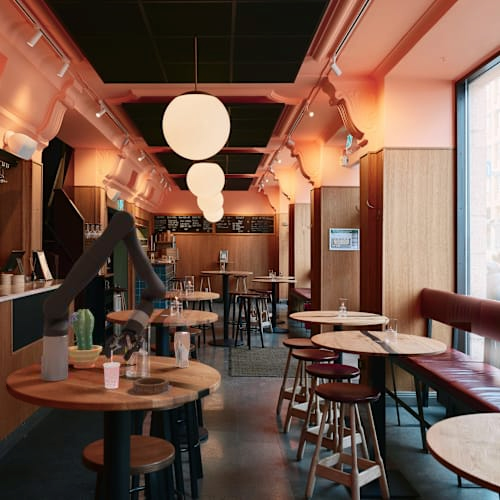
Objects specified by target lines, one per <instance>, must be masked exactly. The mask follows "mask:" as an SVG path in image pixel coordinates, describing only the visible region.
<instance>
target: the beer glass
mask: <svg viewBox="0 0 500 500" xmlns="http://www.w3.org/2000/svg"><path fill="white" fill-rule="evenodd" d="M190 333H191V332H189V331H176V332H174V338H173V339H174V342H173V344H174V345H173V346H174V352H175V364H174V367H175V368H176V367H179V368H178V369H184V368H183V367H187V368H189V367H190V366H189V365H190V364H189V354H190V347H191V334H190Z"/></svg>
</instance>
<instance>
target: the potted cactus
mask: <svg viewBox="0 0 500 500" xmlns="http://www.w3.org/2000/svg"><path fill="white" fill-rule="evenodd" d="M94 324H95V317H94V315H93V314H92V312H91V311H90V310H89V308H87V309H85V308H83V309H78V310H77V312H76V311H75V312H73V313H72V314H70V315H69V327H70V326H71V327H72V330H73V332H74V334H75V339H76V344H77V345H74V346H68V357H69V359H70V361H71V362H72V364H73V368H74V369H89V368H93V367H95V366H96V365H95V364H96V362H97V360H98V359H99V357H100V353H101V352H102V351H103V346H101V345H94V344H93V332H94V331H93V330H94V327H95V325H94Z"/></svg>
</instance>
